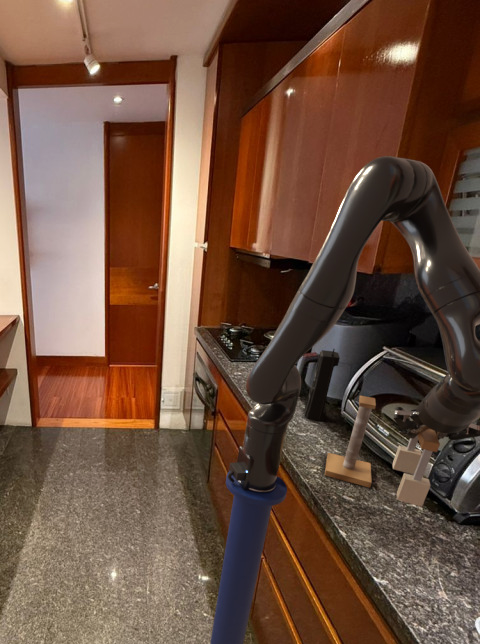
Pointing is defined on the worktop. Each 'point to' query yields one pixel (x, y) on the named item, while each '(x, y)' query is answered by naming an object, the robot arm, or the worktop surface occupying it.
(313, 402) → the portable radio
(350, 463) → the headphone stand
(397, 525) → the worktop surface
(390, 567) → the worktop surface
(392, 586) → the worktop surface
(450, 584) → the worktop surface
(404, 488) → the brown blocky piece
